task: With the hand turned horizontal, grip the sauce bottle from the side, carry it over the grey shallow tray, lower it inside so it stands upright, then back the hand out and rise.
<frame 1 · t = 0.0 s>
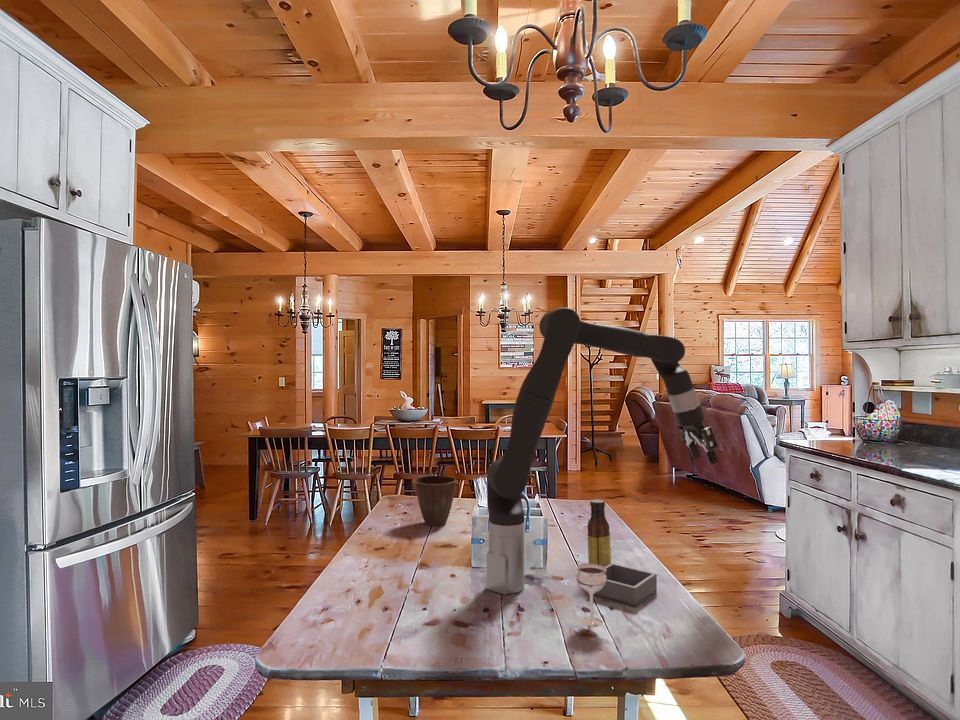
hand: (705, 460, 165), 31 cm above the table, tool tilted 20°, fingers open, 8 cm apart
plant pot: (435, 524, 215), on the table
wineglass: (591, 622, 134), on the table
grey shallow tray: (622, 592, 151), on the table
sauce bottle: (599, 572, 166), on the table
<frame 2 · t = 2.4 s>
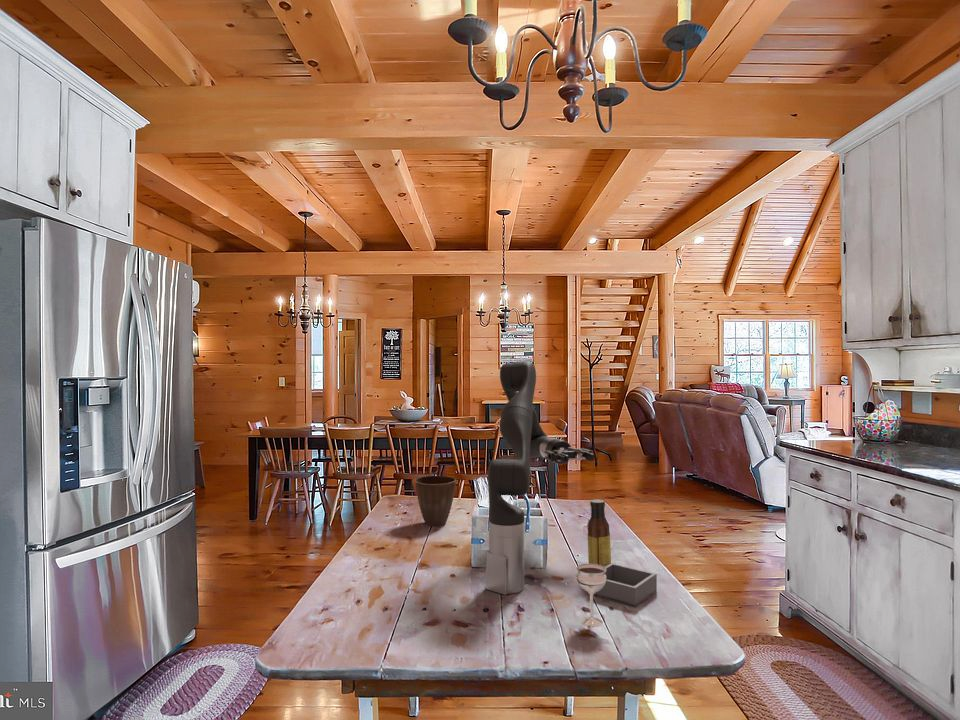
hand: (580, 458, 176), 30 cm above the table, tool horizontal, fingers open, 8 cm apart
nothing on the table moved.
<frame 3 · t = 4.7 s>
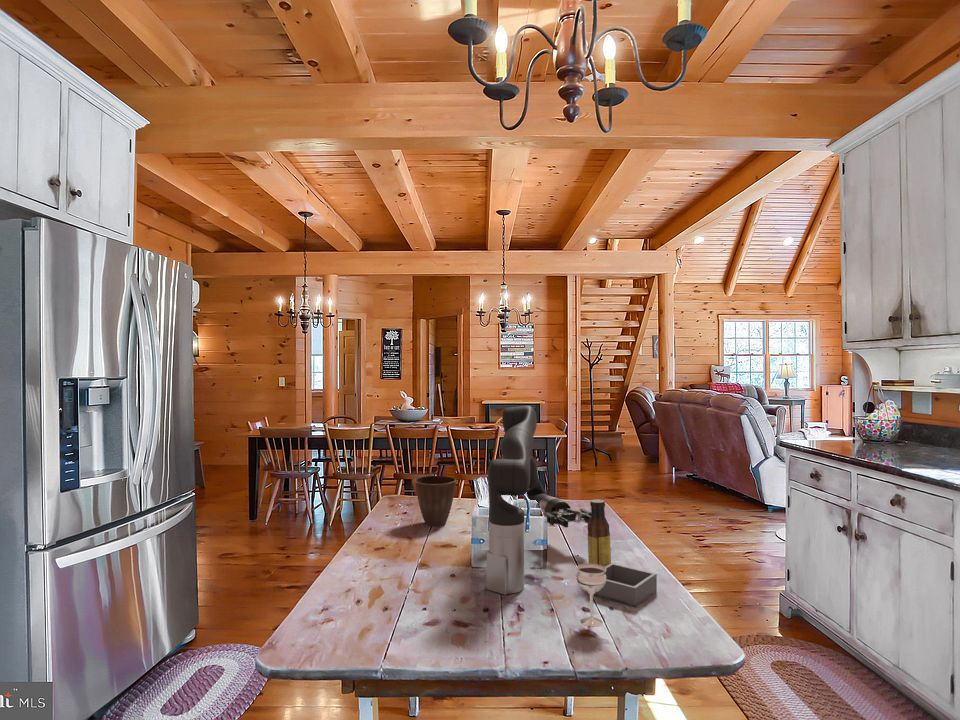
hand: (580, 522, 176), 11 cm above the table, tool horizontal, fingers open, 8 cm apart
nothing on the table moved.
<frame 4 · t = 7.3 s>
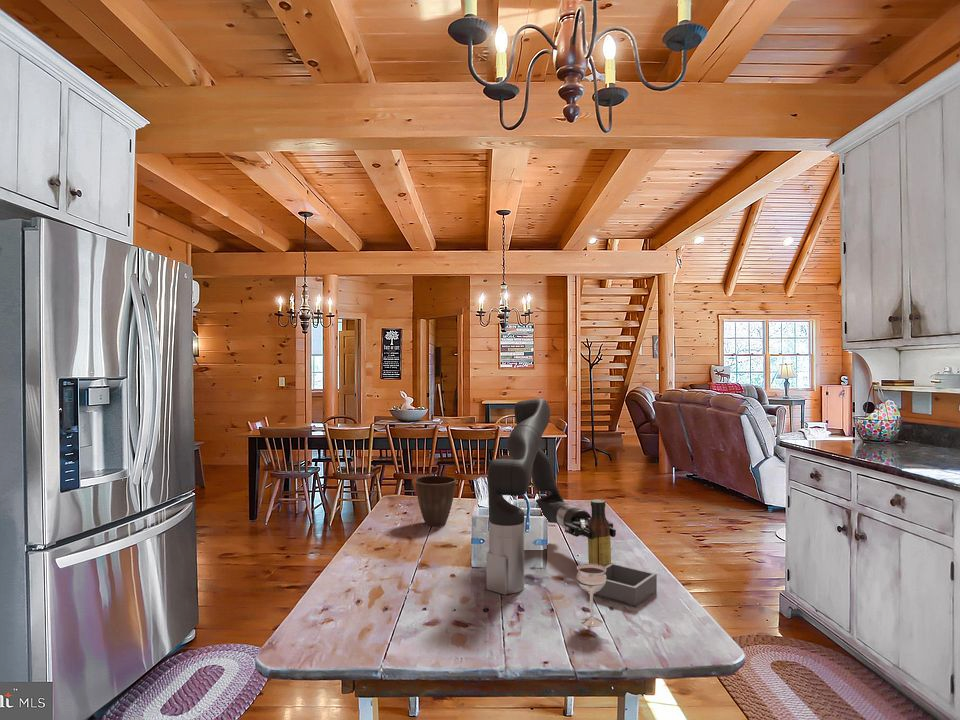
hand: (603, 534, 164), 11 cm above the table, tool horizontal, fingers closed on sauce bottle, 6 cm apart
sauce bottle: (599, 572, 166), on the table, touching gripper
everything else where it was.
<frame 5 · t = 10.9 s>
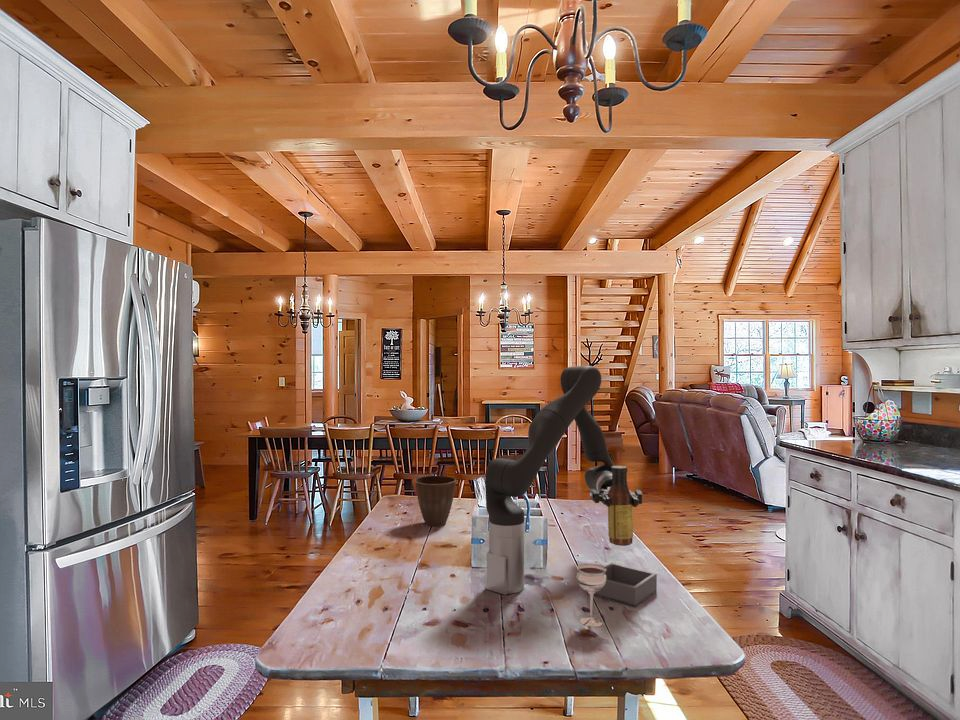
hand: (621, 502, 152), 23 cm above the table, tool horizontal, fingers closed on sauce bottle, 6 cm apart
sauce bottle: (620, 543, 155), point 11 cm above the table, touching gripper
everything else where it was.
when the fingers open (13 cm above the table, at t = 14.2 s): sauce bottle drops 1 cm, resting on grey shallow tray.
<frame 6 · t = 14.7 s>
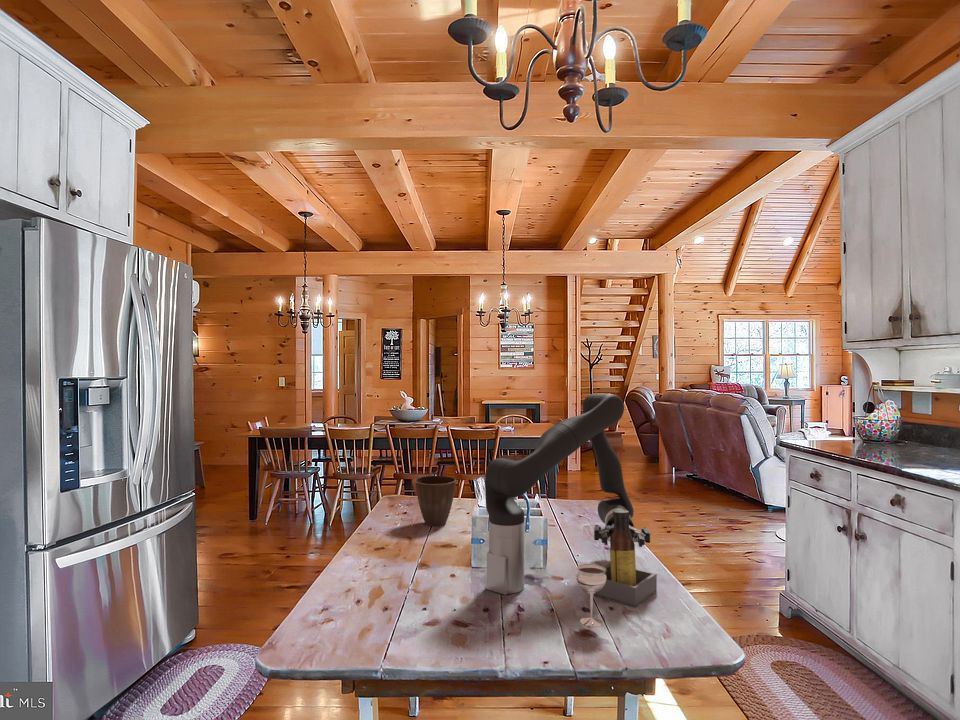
hand: (623, 542, 149), 14 cm above the table, tool horizontal, fingers open, 8 cm apart
sauce bottle: (623, 590, 151), point 1 cm above the table, touching grey shallow tray
everything else where it was.
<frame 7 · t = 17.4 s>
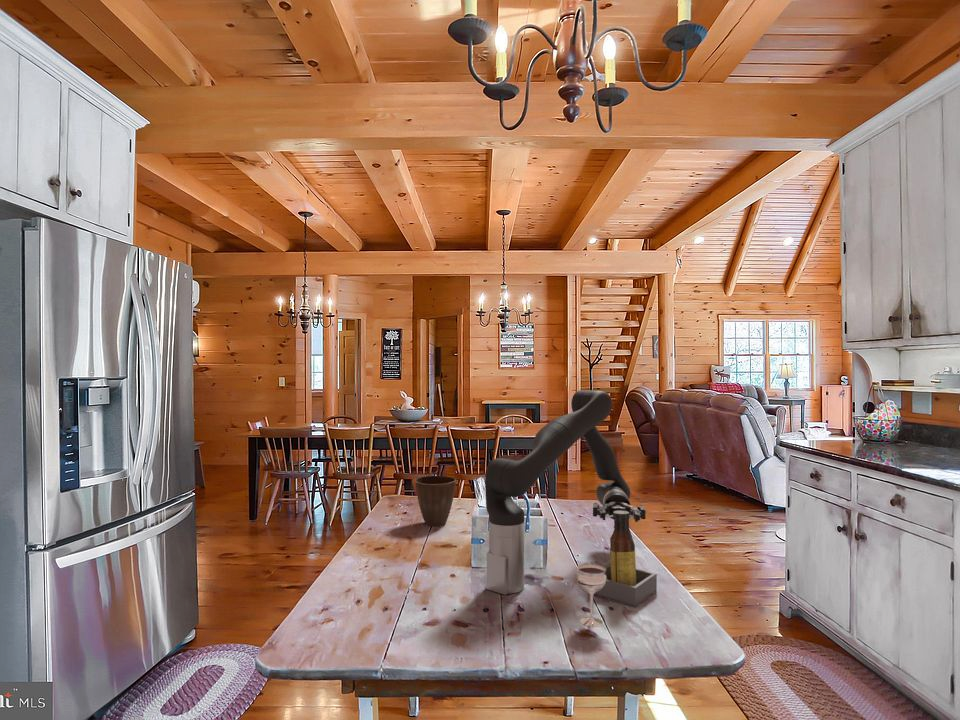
hand: (620, 517, 159), 17 cm above the table, tool horizontal, fingers open, 8 cm apart
nothing on the table moved.
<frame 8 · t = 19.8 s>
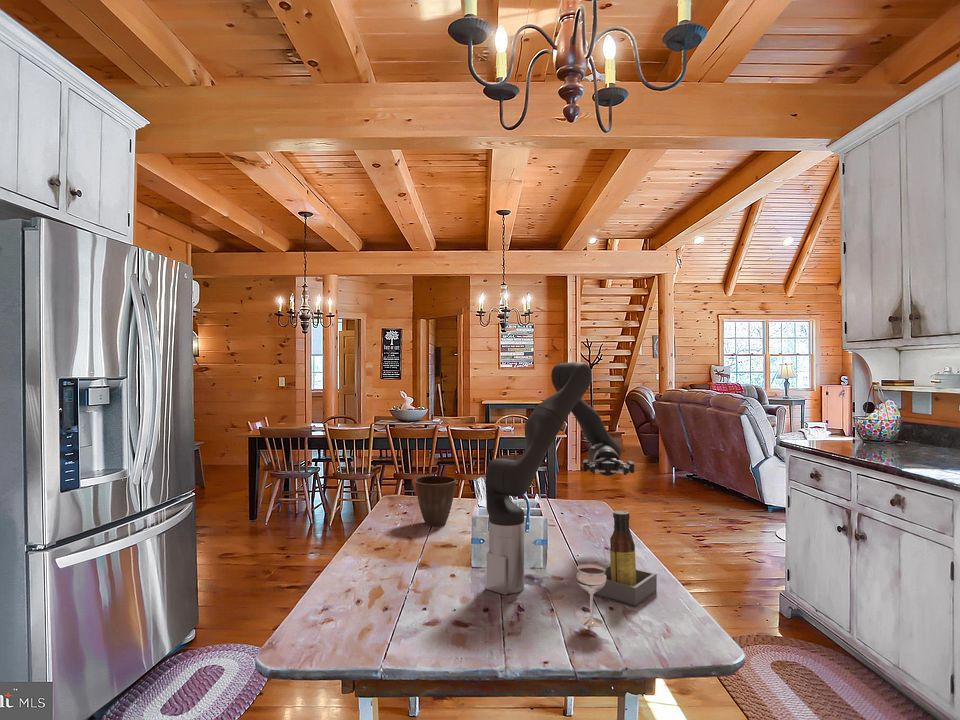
hand: (609, 470, 163), 29 cm above the table, tool horizontal, fingers open, 8 cm apart
nothing on the table moved.
at the end: sauce bottle 0.2 cm off-centre on the grey shallow tray, point 0.4 cm above the grey shallow tray's base; sauce bottle tilted 0°; the gripper is holding nothing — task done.
